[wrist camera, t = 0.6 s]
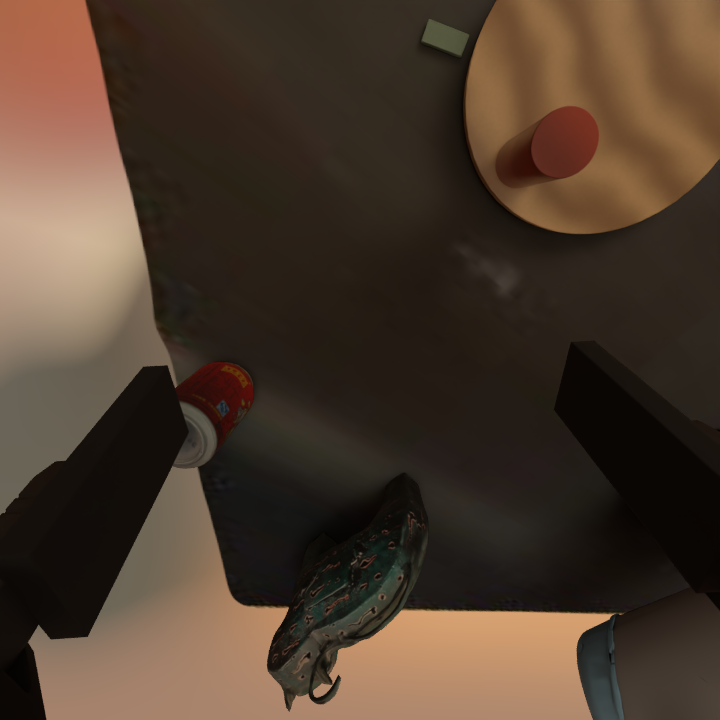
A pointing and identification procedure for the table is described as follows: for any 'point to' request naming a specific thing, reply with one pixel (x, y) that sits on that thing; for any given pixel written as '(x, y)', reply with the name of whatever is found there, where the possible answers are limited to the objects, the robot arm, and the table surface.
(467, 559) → the table surface
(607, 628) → the robot arm
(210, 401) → the soda can
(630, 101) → the wooden round stand
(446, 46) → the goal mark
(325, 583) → the ceramic cat
